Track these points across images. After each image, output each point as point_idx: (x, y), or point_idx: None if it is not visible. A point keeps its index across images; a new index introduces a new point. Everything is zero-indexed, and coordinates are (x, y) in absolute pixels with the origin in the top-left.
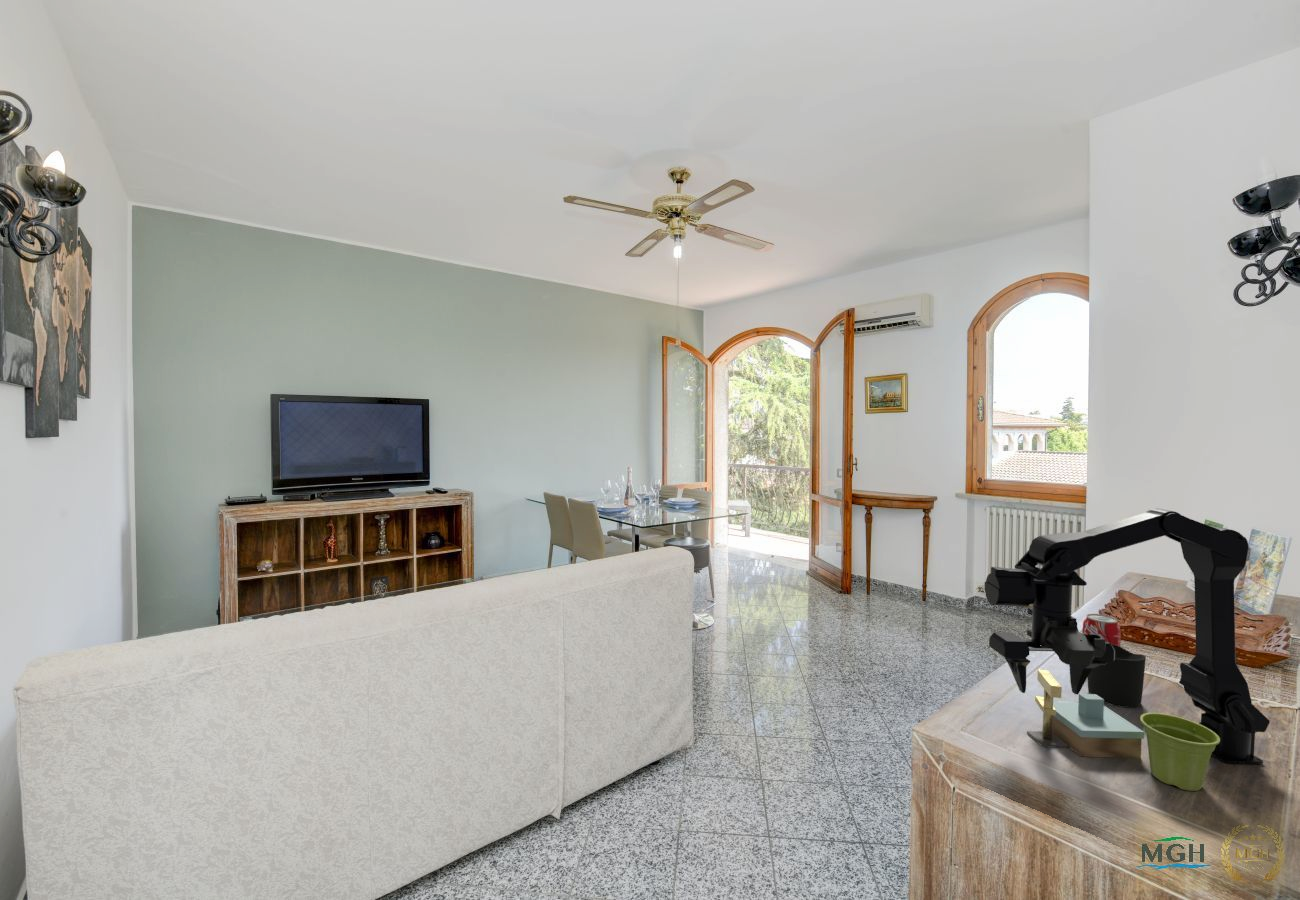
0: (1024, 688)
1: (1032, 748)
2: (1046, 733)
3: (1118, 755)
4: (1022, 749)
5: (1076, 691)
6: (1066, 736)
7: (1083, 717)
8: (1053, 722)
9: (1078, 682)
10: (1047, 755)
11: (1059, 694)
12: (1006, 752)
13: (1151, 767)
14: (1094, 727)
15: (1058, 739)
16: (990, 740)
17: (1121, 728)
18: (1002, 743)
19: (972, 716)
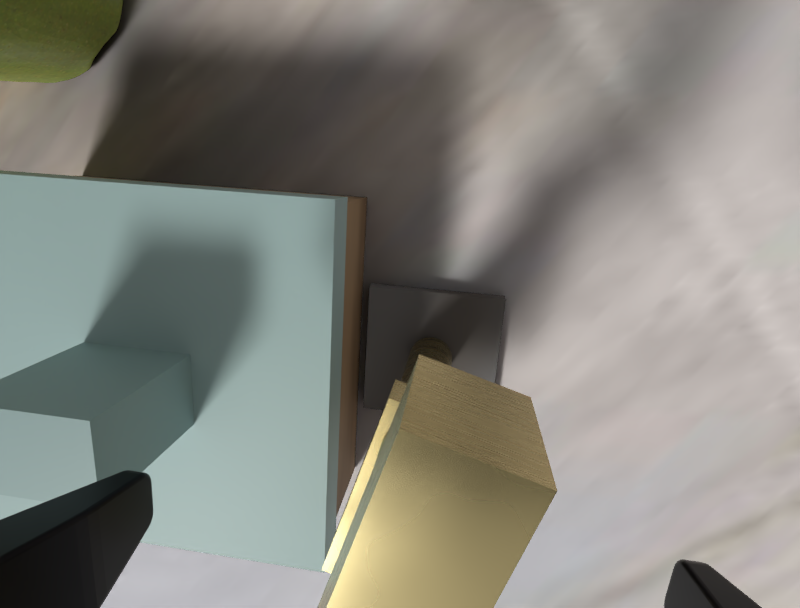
0: (731, 598)
1: (572, 284)
2: (444, 355)
3: (177, 183)
4: (639, 278)
5: (126, 488)
6: (351, 321)
7: (199, 366)
8: (342, 432)
9: (24, 554)
10: (542, 215)
11: (434, 381)
12: (764, 253)
13: (99, 4)
14: (214, 236)
15: (381, 337)
16: (756, 372)
17: (44, 215)
18: (708, 340)
19: (660, 583)
